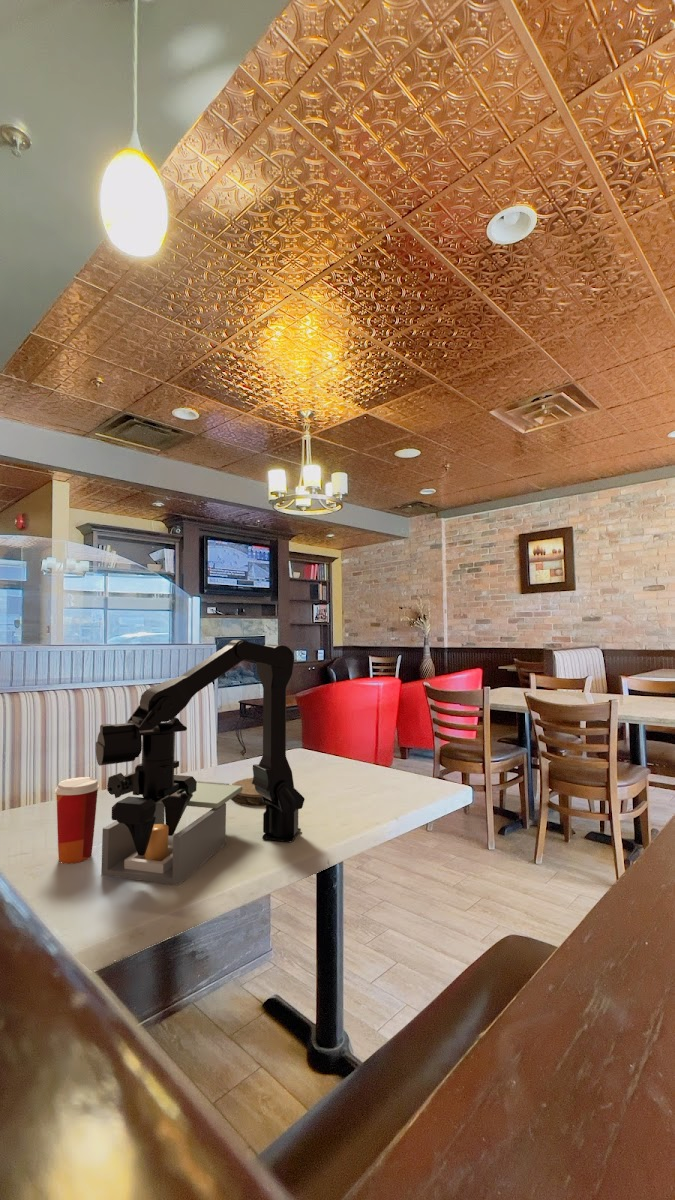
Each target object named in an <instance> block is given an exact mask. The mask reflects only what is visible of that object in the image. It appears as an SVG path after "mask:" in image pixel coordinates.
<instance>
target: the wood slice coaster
mask: <svg viewBox="0 0 675 1200" xmlns="http://www.w3.org/2000/svg"><path fill="white" fill-rule="evenodd" d="M252 781H253V777H250V778H249V777H248V778H244V779H240V780H237V781H235V782H233V783H232V784H231V785H236V786H242V791H241V792H240V793H238V794H237V795H236V796H234V797H233V798H231V799H230V800H231V802H234V803H236V804H239V805H242V806H249V807H266V805H268V803H266V802H263V800H262V797H261V795H260V794H259V793H258V792H257V791H256V789H255V785H254V784H252Z"/></svg>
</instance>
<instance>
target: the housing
mask: <svg viewBox="0 0 675 1200" xmlns="http://www.w3.org/2000/svg"><path fill="white" fill-rule="evenodd" d="M226 815H227V802H226V803H224V804H223V805H222V806H220V807H219V808H217V809H215V808H210V810H208V811H206V812H205V813H204V814H202V815H201V816H200V817H198V818H196V820H194V821H192V822H191V823H189V824H188V825H187V826H185V827H184V828H183V829H181V830H180V831H179V832H177V833H175V832H174V834H173V835H172V836H168V857H167V858H165V859H164V860H163V861H153V860H145V855H144V856H140V855H138V853H137V850H136V847H135V844H134V841H133V838H132V836H131V833H130V831H129V829H128V827H127V826H126V825H125V824H124V823H119V822H118V821H117V820H114V821H113V822H112V823H110V824H108V825H106V826H104V827H103V828H102V841H101V868H100V869H101V873H100V876H107V877H114V878H123V879H129V880H137V881H145V882H151V883H160V884H167V885H175V886H180V885H181V884H182V883H183V882H185V880H186V879H187V878H188V877H189V878H190V876H191V875H192V874H193V873H194V872H195V871H197V869H199V868H200V867H201V866H203V864H205V862H207V860H209V859H210V858H211V857H212V856H213V855H215V854H216V853H217V852H218V851H219V850H220V849H221V848H223V847H224V846H225V845H226V837H227V836H226V835H227V834H226V831H227V829H226V826H227V824H226V822H227V816H226ZM153 817H156V819H155V823H154V824H165V806H164V804H161V803H156V811H155V813H154V815H153Z"/></svg>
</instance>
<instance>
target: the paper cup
mask: <svg viewBox="0 0 675 1200" xmlns="http://www.w3.org/2000/svg"><path fill="white" fill-rule="evenodd" d="M98 789H100V784H99V783H98V779H96V778H92V777H88V776H83V777H82V776H81V777H74V778H67V779H64V780H62V781H61V780H60V781H59V782H58V785H57V786H56V788H55V790H54V795H56V818H57V819H56V820H57V822H56V824H57V827H56V828H57V848H58V849H57V854H58V861H59V862H60V863H61V862H62V863H61V864H64V863H67V865H72V864H71V863H73V864H78V863H81V862H85V861H87V860H88V859H89V860H90V858H91V857H92V853H93V844H94V838H95V837H94V834H95V826H96V825H95V824H96V813H97V803H98V793H99V792H98Z"/></svg>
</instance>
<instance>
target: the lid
mask: <svg viewBox="0 0 675 1200" xmlns="http://www.w3.org/2000/svg"><path fill="white" fill-rule="evenodd" d="M196 781H197V785H196V791H195V792H193V793H192V794H193V796H192V798H191V799H190V801H189V803H188V805H187V807H195V808H196V807H197V808H205V809H207V808H208V809H213V808H215V809H217V808H219V807H220V806H222V805H223V804H224V803H226V804H227V802H229V801H230V800H231V798H233V797H234V796H236V795H237V794H238V793H240V792H241V791H242V786H236V785H232V784H230V783H225V782H214V781H212V782H211V781H201V780H196ZM158 803H161V804H163V802H162V801H160V802H158Z"/></svg>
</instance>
